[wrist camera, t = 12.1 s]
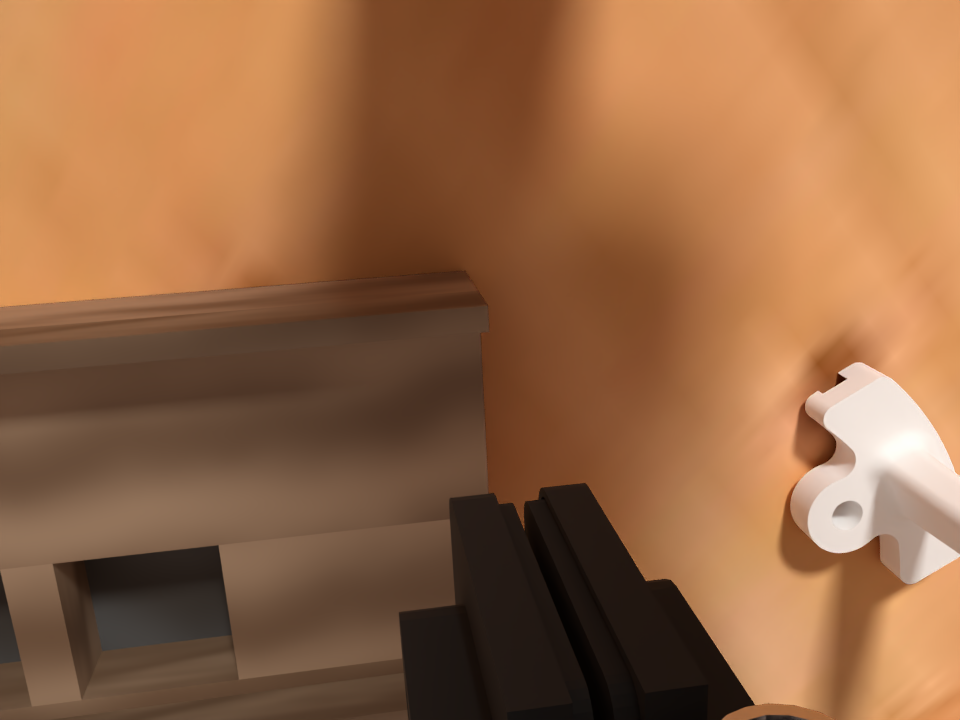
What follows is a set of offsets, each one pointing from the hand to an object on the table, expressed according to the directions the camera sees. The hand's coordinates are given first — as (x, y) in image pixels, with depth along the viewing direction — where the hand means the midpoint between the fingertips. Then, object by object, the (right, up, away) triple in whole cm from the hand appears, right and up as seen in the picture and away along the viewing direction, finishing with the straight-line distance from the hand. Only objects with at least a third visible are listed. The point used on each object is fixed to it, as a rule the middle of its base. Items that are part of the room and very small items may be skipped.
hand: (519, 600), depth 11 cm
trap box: (-18, -3, +29) cm, 35 cm away
